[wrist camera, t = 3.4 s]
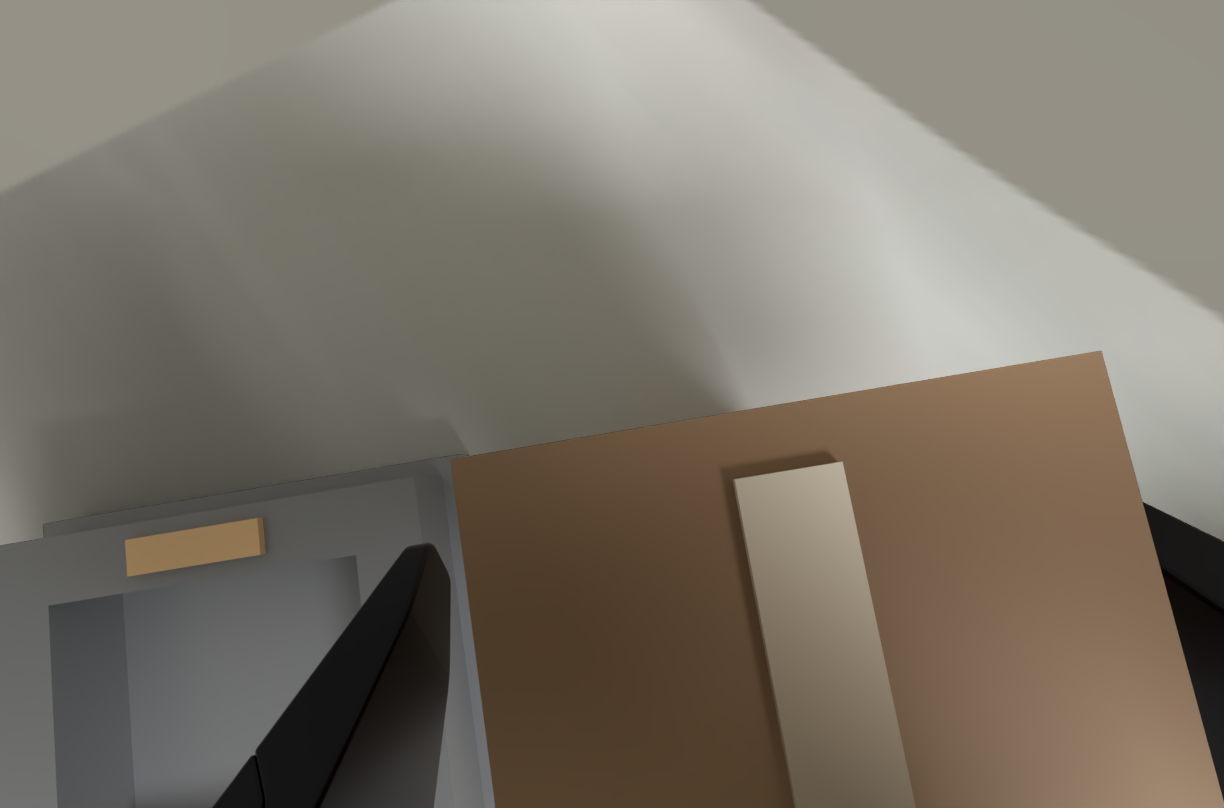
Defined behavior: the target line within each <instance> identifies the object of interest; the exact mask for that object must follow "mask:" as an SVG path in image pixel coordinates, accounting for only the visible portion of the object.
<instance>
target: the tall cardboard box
mask: <svg viewBox="0 0 1224 808" xmlns="http://www.w3.org/2000/svg"><path fill="white" fill-rule="evenodd" d="M450 462H451V470H452V478H453V485H454V493H455V501H456V509H457V516H458V524H459V532H460V539H461V547H462V555H463V563H464V570H465V578H466V586H467V593H468V601H469V609H470V616H471V624H472V632H473V640H474V647H475V655H476V663H477V670H478V678H479V686H480V694H481V701H482V709H483V717H484V724H485V732H486V740H487V747H488V755H489V763H490V771H491V778H492V786H493V794H494V801H495V808H1224V800H1223V797H1222V793H1221V789H1220V786H1219V782H1218V778H1217V774H1216V771H1215V767H1214V763H1213V760H1212V756H1211V752H1210V749H1209V745H1208V741H1207V738H1206V734H1205V730H1204V727H1203V723H1202V719H1201V716H1200V712H1199V708H1198V705H1197V701H1196V697H1195V693H1194V690H1193V686H1192V682H1191V679H1190V675H1189V671H1188V668H1187V664H1186V660H1185V657H1184V653H1183V649H1182V646H1181V642H1180V638H1179V635H1178V631H1177V627H1176V624H1175V620H1174V616H1173V612H1172V609H1171V605H1170V601H1169V598H1168V594H1167V590H1166V587H1165V583H1164V579H1163V576H1162V572H1161V568H1160V565H1159V561H1158V557H1157V554H1156V550H1155V546H1154V543H1153V539H1152V535H1151V531H1150V528H1149V524H1148V520H1147V517H1146V513H1145V509H1144V506H1143V502H1142V498H1141V495H1140V491H1139V487H1138V484H1137V480H1136V476H1135V473H1134V469H1133V465H1132V462H1131V458H1130V454H1129V451H1128V447H1127V443H1126V439H1125V436H1124V432H1123V428H1122V425H1121V421H1120V417H1119V414H1118V410H1117V406H1116V403H1115V399H1114V395H1113V392H1112V388H1111V384H1110V381H1109V377H1108V373H1107V370H1106V366H1105V362H1104V358H1103V355H1102V351H1096V352H1090V353H1084V354H1078V355H1072V356H1066V357H1060V358H1054V359H1048V360H1042V361H1036V362H1030V363H1024V364H1018V365H1012V366H1006V367H1000V368H994V369H988V370H982V371H976V372H970V373H964V374H958V375H952V376H946V377H940V378H934V379H928V380H922V381H916V382H911V383H905V384H899V385H893V386H887V387H881V388H875V389H869V390H863V391H857V392H851V393H845V394H839V395H833V396H827V397H821V398H815V399H809V400H803V401H797V402H791V403H785V404H779V405H773V406H767V407H761V408H755V409H749V410H743V411H737V412H731V413H725V414H719V415H713V416H707V417H701V418H695V419H689V420H683V421H677V422H671V423H665V424H659V425H653V426H647V427H641V428H635V429H629V430H623V431H617V432H611V433H605V434H599V435H593V436H587V437H581V438H575V439H569V440H563V441H557V442H551V443H545V444H539V445H533V446H527V447H522V448H516V449H510V450H504V451H498V452H492V453H486V454H480V455H474V456H468V457H462V458H456V459H450Z"/></svg>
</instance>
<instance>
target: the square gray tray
mask: <svg viewBox="0 0 1224 808" xmlns="http://www.w3.org/2000/svg"><path fill="white" fill-rule="evenodd" d="M462 457H468V455H461V454H457V455H451V456H445V457H439V458H433V459H427V460H421V461H415V462H409V463H403V464H397V465H391V466H386V467H380V468H374V469H368V470H362V471H356V472H350V473H344V474H338V475H332V476H326V477H320V478H314V479H308V480H302V481H296V482H290V483H284V484H278V485H272V486H266V487H260V488H254V489H248V490H242V491H236V492H230V493H224V494H218V495H212V496H206V497H200V498H194V499H188V500H182V501H176V502H170V503H164V504H158V505H152V506H146V507H140V508H134V509H128V510H122V511H116V512H110V513H104V514H99V515H93V516H87V517H81V518H75V519H69V520H63V521H57V522H51V523H45V524H43V533H44V538H42V539H36V540H30V541H24V542H18V543H12V544H6V545H0V808H212V807H213V805H214V804H215V803H216V801H217V800H218V799H219V797H220V796H221V795H222V794H223V792H224V791H225V790H226V788H227V787H228V786H229V784H230V783H231V782H232V781H233V779H234V778H235V776H236V775H237V774H238V772H239V771H240V770H241V768H242V767H243V766H244V764H245V763H246V762H247V760H248V759H249V758H250V757H251V756H252V755H255V750H256V748H257V747H258V746H259V744H260V743H261V742H262V740H263V739H264V738H265V736H266V735H267V734H268V732H269V731H270V730H271V728H272V727H273V725H274V724H275V723H276V721H277V720H278V719H279V717H280V716H281V715H282V713H283V712H284V711H285V709H286V708H287V707H288V705H289V704H290V703H291V701H292V700H293V698H294V697H295V696H296V694H297V693H298V692H299V690H300V689H301V688H302V686H303V685H304V684H305V682H306V681H307V680H308V678H309V677H310V675H311V674H312V673H313V671H314V670H315V669H316V667H317V666H318V665H319V663H320V662H321V661H322V659H323V658H324V657H325V655H326V654H327V653H328V651H329V650H330V648H331V647H332V646H333V644H334V643H335V642H336V640H337V639H338V638H339V636H340V635H341V634H342V632H343V631H344V630H345V628H346V627H347V626H348V624H349V623H350V621H351V620H352V619H353V617H354V616H355V615H356V613H357V612H358V611H359V609H360V608H361V607H362V605H363V604H364V603H365V601H366V600H367V598H368V597H369V596H370V594H371V593H372V592H373V590H374V589H375V588H376V586H377V585H378V584H379V582H380V581H381V580H382V578H383V577H384V576H385V574H386V573H387V571H388V570H389V569H390V567H391V566H392V565H393V563H394V562H395V561H396V559H397V558H398V557H399V555H400V554H401V553H402V551H403V550H404V549H405V548H406V547H408V546H411V545H417V544H423V543H432V544H433V545H434V546H435V547H436V549H437V551H438V553H439V555H440V557H441V559H442V561H443V563H444V565H445V567H446V569H447V571H448V573H449V576H450V581H451V638H450V680H449V690H448V699H447V707H446V715H445V723H444V731H443V739H442V747H441V755H440V763H439V771H438V779H437V787H436V795H435V803H434V808H495V801H494V794H493V786H492V778H491V771H490V763H489V755H488V747H487V740H486V732H485V724H484V717H483V709H482V701H481V694H480V686H479V678H478V670H477V663H476V655H475V647H474V640H473V632H472V624H471V616H470V609H469V601H468V593H467V586H466V578H465V570H464V563H463V555H462V547H461V539H460V532H459V524H458V516H457V509H456V501H455V493H454V485H453V478H452V470H451V462H450V459H456V458H462Z"/></svg>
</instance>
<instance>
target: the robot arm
mask: <svg viewBox="0 0 1224 808" xmlns="http://www.w3.org/2000/svg"><path fill="white" fill-rule="evenodd" d="M1143 506H1144V509H1145V513H1146V517H1147V520H1148V524H1149V528H1150V531H1151V535H1152V539H1153V543H1154V546H1155V550H1156V554H1157V557H1158V561H1159V565H1160V568H1161V572H1162V576H1163V579H1164V583H1165V587H1166V590H1167V594H1168V598H1169V601H1170V605H1171V609H1172V612H1173V616H1174V620H1175V624H1176V627H1177V631H1178V635H1179V638H1180V642H1181V646H1182V649H1183V653H1184V657H1185V660H1186V664H1187V668H1188V671H1189V675H1190V679H1191V682H1192V686H1193V690H1194V693H1195V697H1196V701H1197V705H1198V708H1199V712H1200V716H1201V719H1202V723H1203V727H1204V730H1205V734H1206V738H1207V741H1208V745H1209V749H1210V752H1211V756H1212V760H1213V763H1214V767H1215V771H1216V774H1217V778H1218V782H1219V786H1220V789H1221V793H1222V797H1223V800H1224V541H1222V540H1220V539H1218V538H1216V537H1214V536H1212V535H1209V534H1207V533H1205V532H1203V531H1201V530H1199V529H1197V528H1195V527H1193V526H1191V525H1189V524H1187V523H1185V522H1183V521H1181V520H1179V519H1177V518H1175V517H1173V516H1171V515H1169V514H1167V513H1165V512H1163V511H1161V510H1158V509H1156V508H1154V507H1152V506H1150V505H1148V504H1146V503H1144V502H1143ZM450 638H451V581H450V576H449V573H448V571H447V569H446V567H445V565H444V563H443V561H442V559H441V557H440V555H439V553H438V551H437V549H436V547H435V546H434V545H433V544H432V543H423V544H417V545H411V546H408V547H406V548H405V549H404V550H403V551H402V553H401V554H400V555H399V557H398V558H397V559H396V561H395V562H394V563H393V565H392V566H391V567H390V569H389V570H388V571H387V573H386V574H385V576H384V577H383V578H382V580H381V581H380V582H379V584H378V585H377V586H376V588H375V589H374V590H373V592H372V593H371V594H370V596H369V597H368V598H367V600H366V601H365V603H364V604H363V605H362V607H361V608H360V609H359V611H358V612H357V613H356V615H355V616H354V617H353V619H352V620H351V621H350V623H349V624H348V626H347V627H346V628H345V630H344V631H343V632H342V634H341V635H340V636H339V638H338V639H337V640H336V642H335V643H334V644H333V646H332V647H331V648H330V650H329V651H328V653H327V654H326V655H325V657H324V658H323V659H322V661H321V662H320V663H319V665H318V666H317V667H316V669H315V670H314V671H313V673H312V674H311V675H310V677H309V678H308V680H307V681H306V682H305V684H304V685H303V686H302V688H301V689H300V690H299V692H298V693H297V694H296V696H295V697H294V698H293V700H292V701H291V703H290V704H289V705H288V707H287V708H286V709H285V711H284V712H283V713H282V715H281V716H280V717H279V719H278V720H277V721H276V723H275V724H274V725H273V727H272V728H271V730H270V731H269V732H268V734H267V735H266V736H265V738H264V739H263V740H262V742H261V743H260V744H259V746H258V747H257V748H256V750H255V755H252V756H251V757H250V758H249V759H248V760H247V762H246V763H245V764H244V766H243V767H242V768H241V770H240V771H239V772H238V774H237V775H236V776H235V778H234V779H233V781H232V782H231V783H230V784H229V786H228V787H227V788H226V790H225V791H224V792H223V794H222V795H221V796H220V797H219V799H218V800H217V801H216V803H215V804H214V805H213V807H212V808H434V803H435V795H436V787H437V779H438V771H439V763H440V755H441V747H442V739H443V731H444V723H445V715H446V707H447V699H448V690H449V680H450Z"/></svg>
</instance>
